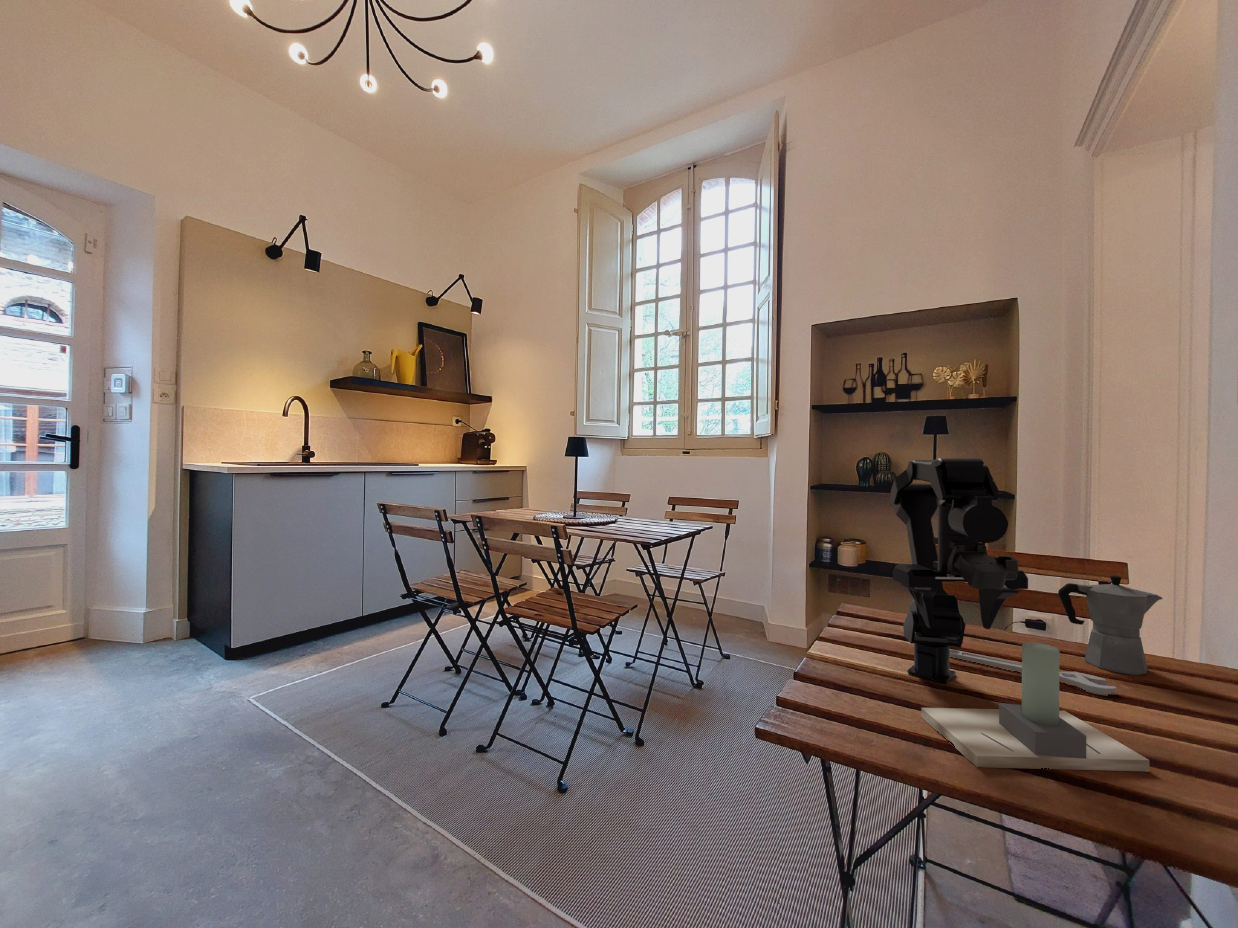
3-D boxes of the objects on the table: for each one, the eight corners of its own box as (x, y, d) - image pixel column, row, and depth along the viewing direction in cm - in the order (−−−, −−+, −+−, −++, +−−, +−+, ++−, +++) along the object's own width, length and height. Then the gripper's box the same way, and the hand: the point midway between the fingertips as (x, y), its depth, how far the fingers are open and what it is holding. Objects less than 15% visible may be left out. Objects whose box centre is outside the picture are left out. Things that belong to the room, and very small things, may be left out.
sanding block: (1035, 754, 66) (1035, 656, 66) (999, 723, 74) (999, 636, 74) (1086, 758, 66) (1086, 659, 65) (1044, 726, 73) (1044, 638, 73)
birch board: (921, 716, 79) (921, 707, 79) (1064, 720, 78) (1064, 710, 78) (976, 766, 66) (976, 755, 66) (1149, 771, 65) (1149, 759, 65)
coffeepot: (1150, 663, 101) (1150, 574, 100) (1173, 681, 92) (1174, 584, 92) (1051, 649, 108) (1052, 566, 108) (1065, 665, 100) (1065, 575, 100)
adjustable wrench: (944, 659, 104) (944, 650, 104) (953, 651, 108) (953, 643, 108) (1113, 700, 86) (1113, 689, 86) (1115, 689, 90) (1115, 679, 90)
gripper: (929, 540, 75) (928, 644, 75) (1057, 542, 74) (1057, 647, 74) (891, 530, 86) (890, 621, 86) (1002, 531, 85) (1002, 623, 85)
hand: (957, 628), depth 83 cm, fingers open, 9 cm apart
